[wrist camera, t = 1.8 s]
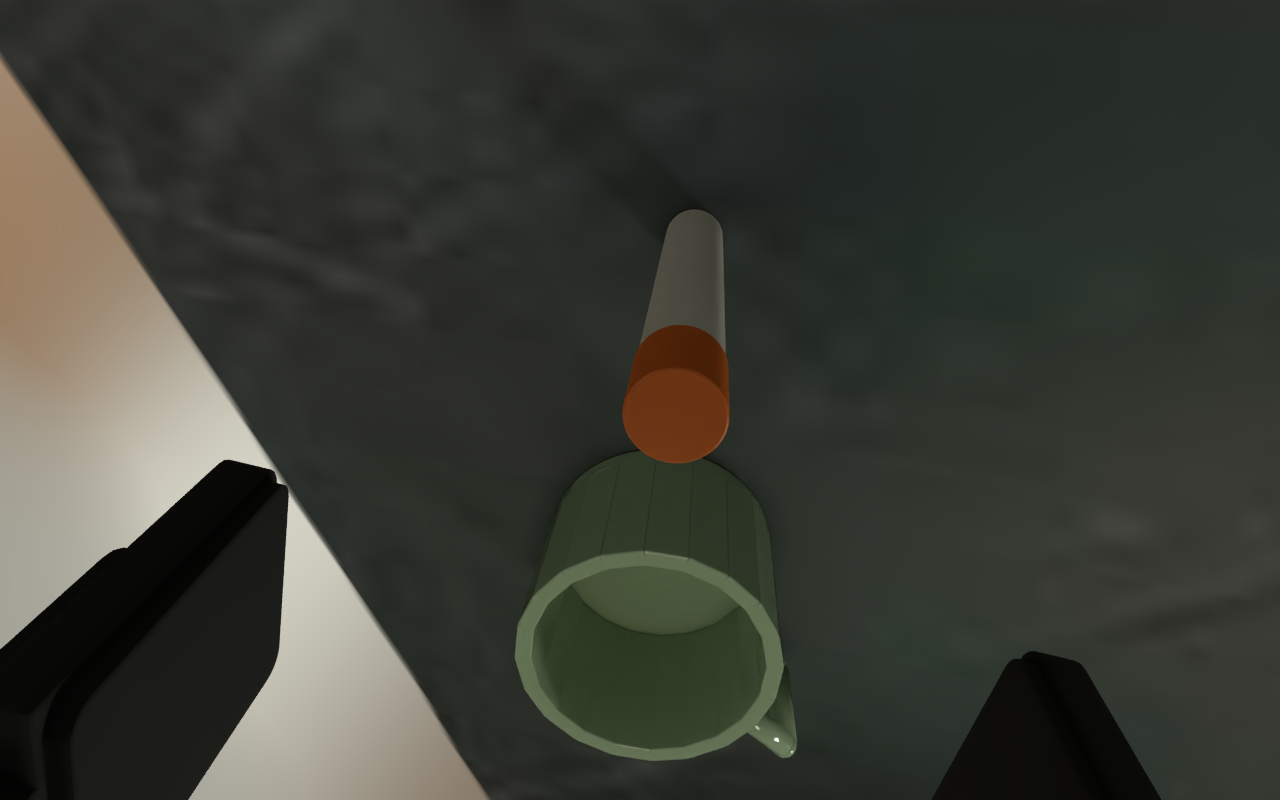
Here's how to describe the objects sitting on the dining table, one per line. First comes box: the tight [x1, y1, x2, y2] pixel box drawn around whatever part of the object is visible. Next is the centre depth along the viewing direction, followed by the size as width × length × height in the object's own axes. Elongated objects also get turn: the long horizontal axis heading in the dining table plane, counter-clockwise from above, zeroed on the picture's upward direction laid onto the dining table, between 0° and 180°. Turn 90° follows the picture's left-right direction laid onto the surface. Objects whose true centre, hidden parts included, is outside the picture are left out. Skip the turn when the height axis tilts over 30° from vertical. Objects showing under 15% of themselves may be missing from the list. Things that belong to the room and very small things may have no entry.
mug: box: [515, 451, 797, 761], centre depth 32 cm, size 12×9×7 cm
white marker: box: [622, 209, 730, 463], centre depth 23 cm, size 2×2×14 cm
